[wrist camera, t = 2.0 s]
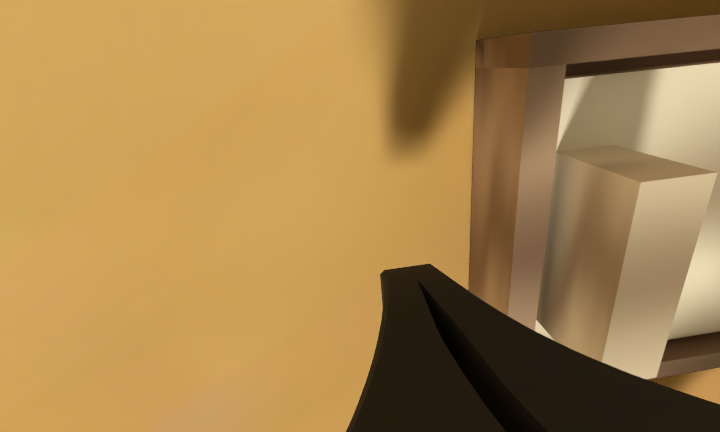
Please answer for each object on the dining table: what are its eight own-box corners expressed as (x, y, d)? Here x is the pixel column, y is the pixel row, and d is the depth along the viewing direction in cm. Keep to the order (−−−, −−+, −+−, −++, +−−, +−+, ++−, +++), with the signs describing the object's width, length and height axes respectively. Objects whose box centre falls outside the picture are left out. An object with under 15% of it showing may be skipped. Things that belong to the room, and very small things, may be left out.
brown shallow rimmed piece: (803, 291, 18) (900, 336, 15) (466, 344, 16) (500, 405, 14) (935, -4, 13) (1120, -24, 10) (476, 40, 12) (531, 32, 9)
